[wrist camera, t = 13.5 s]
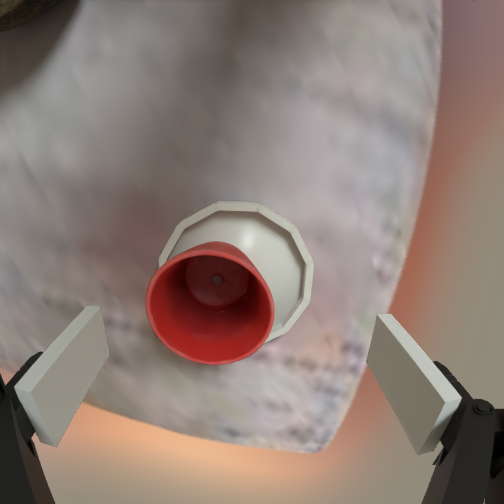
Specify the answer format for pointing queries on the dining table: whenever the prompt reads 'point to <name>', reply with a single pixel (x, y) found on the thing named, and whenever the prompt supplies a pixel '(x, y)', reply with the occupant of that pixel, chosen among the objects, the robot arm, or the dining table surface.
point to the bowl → (21, 11)
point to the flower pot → (210, 304)
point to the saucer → (255, 251)
